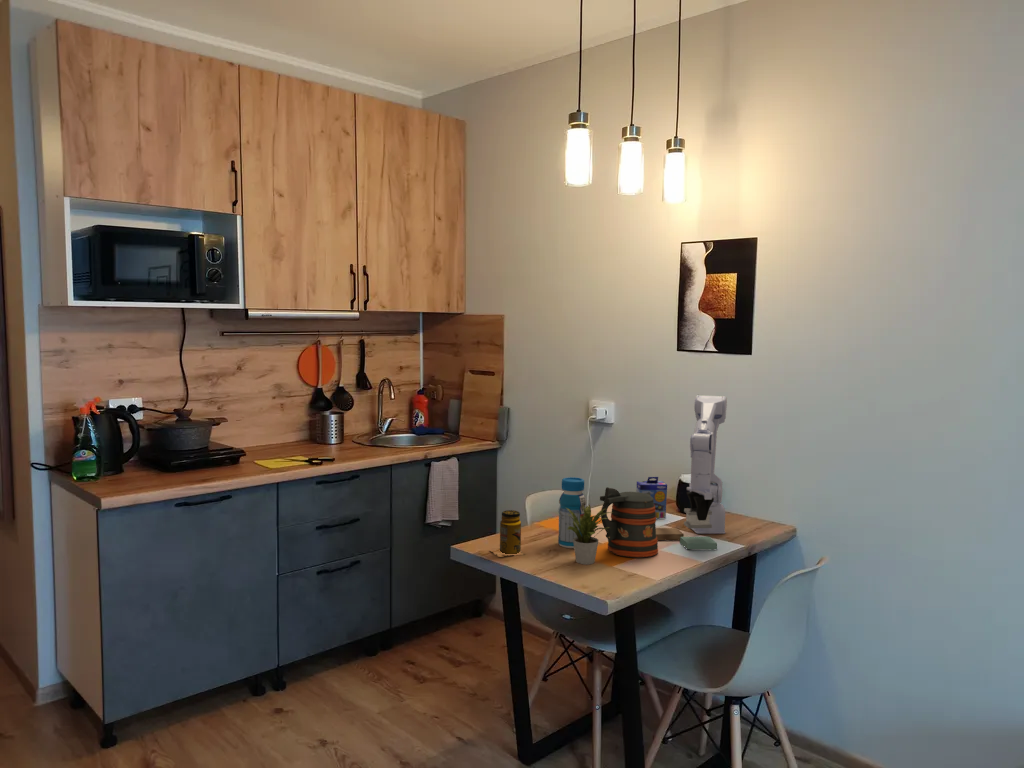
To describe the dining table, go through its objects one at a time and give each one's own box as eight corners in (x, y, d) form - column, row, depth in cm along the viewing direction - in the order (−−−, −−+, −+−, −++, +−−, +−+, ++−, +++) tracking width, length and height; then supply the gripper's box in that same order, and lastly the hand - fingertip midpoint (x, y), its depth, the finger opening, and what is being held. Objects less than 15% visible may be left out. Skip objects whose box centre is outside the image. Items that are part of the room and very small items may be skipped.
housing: (706, 524, 226) (706, 507, 225) (711, 527, 221) (711, 511, 221) (683, 524, 225) (684, 508, 225) (688, 528, 221) (688, 511, 220)
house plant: (622, 568, 202) (624, 509, 201) (575, 573, 198) (576, 512, 197) (601, 553, 216) (602, 497, 214) (556, 556, 212) (557, 500, 210)
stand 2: (708, 542, 228) (709, 536, 228) (717, 549, 221) (717, 543, 221) (680, 543, 227) (680, 536, 227) (687, 550, 220) (687, 543, 220)
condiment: (525, 554, 213) (526, 513, 212) (498, 558, 210) (499, 516, 209) (515, 547, 220) (515, 508, 219) (488, 551, 216) (489, 510, 215)
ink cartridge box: (638, 519, 255) (640, 477, 254) (634, 515, 260) (635, 474, 259) (666, 518, 256) (668, 477, 255) (662, 514, 261) (663, 474, 260)
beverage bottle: (563, 550, 218) (564, 482, 217) (553, 541, 226) (555, 477, 225) (590, 548, 221) (591, 481, 219) (579, 540, 229) (581, 475, 227)
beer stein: (622, 565, 205) (623, 493, 204) (585, 551, 217) (587, 484, 215) (668, 553, 217) (670, 485, 215) (631, 541, 228) (633, 477, 227)
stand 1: (676, 534, 237) (676, 527, 237) (683, 540, 230) (683, 534, 230) (648, 534, 236) (649, 528, 236) (654, 540, 229) (655, 534, 229)
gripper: (680, 468, 229) (678, 512, 230) (695, 478, 215) (694, 524, 216) (702, 468, 230) (701, 511, 231) (719, 478, 215) (717, 524, 216)
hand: (699, 517), depth 223 cm, fingers closed on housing, 4 cm apart
